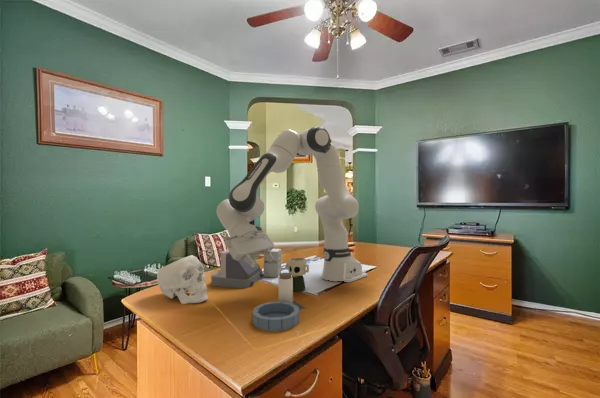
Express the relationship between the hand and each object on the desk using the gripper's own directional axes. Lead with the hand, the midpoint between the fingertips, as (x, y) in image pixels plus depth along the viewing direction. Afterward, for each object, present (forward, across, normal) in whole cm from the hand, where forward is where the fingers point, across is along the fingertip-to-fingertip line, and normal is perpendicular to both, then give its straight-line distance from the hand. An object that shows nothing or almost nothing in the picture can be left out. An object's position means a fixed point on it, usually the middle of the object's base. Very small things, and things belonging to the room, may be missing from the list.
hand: (263, 263), depth 104 cm
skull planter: (-10, -12, +31) cm, 35 cm away
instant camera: (-9, +15, +30) cm, 35 cm away
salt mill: (+17, 0, +3) cm, 17 cm away
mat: (+17, 0, +3) cm, 17 cm away
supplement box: (-3, +30, +24) cm, 39 cm away
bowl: (+20, -11, 0) cm, 22 cm away
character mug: (+13, +17, +8) cm, 23 cm away
